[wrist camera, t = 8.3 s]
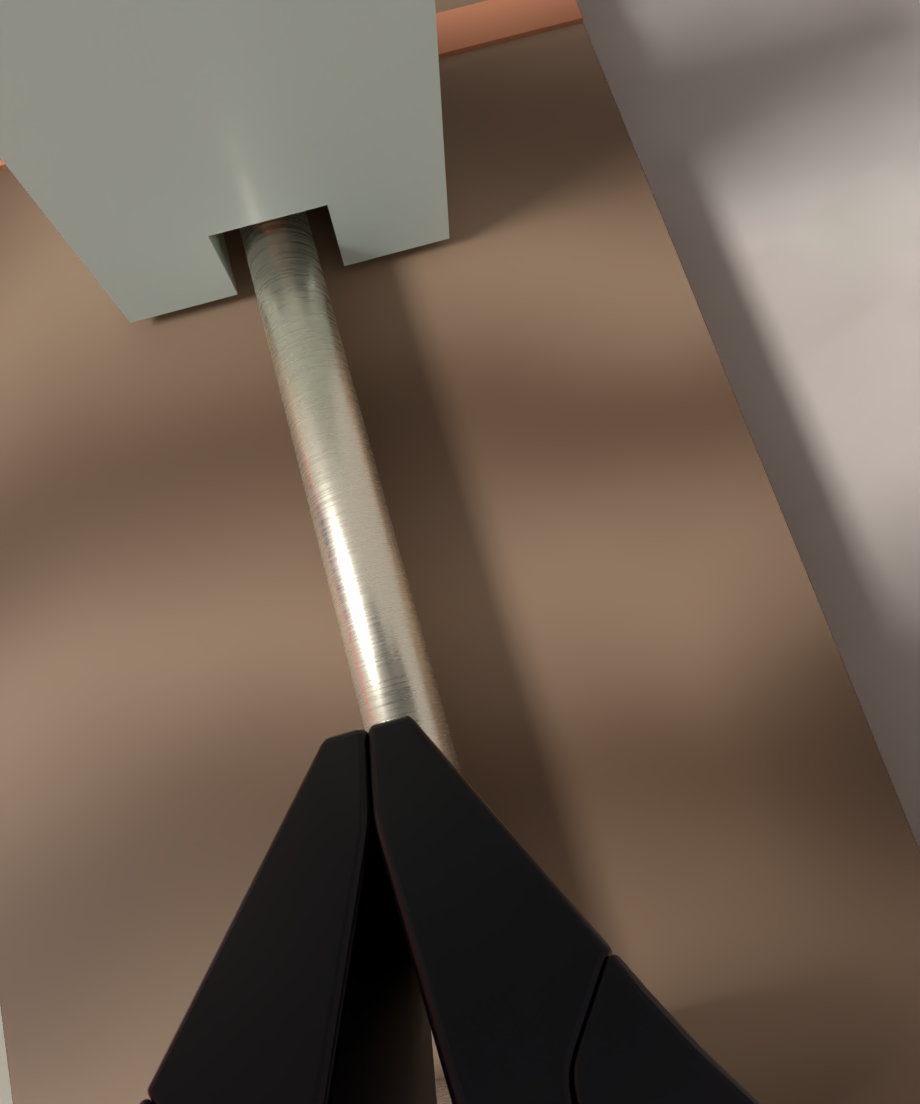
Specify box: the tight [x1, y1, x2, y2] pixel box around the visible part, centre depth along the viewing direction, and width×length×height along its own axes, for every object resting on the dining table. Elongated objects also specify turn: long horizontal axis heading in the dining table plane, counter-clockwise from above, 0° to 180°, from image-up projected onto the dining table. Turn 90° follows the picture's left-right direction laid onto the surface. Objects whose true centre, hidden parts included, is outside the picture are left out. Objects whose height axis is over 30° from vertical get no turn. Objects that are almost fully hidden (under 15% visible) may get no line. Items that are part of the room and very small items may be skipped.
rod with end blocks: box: [239, 211, 461, 1104], centre depth 12 cm, size 24×5×6 cm, turn 16°
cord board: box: [0, 0, 920, 1104], centre depth 15 cm, size 25×14×2 cm, turn 16°
